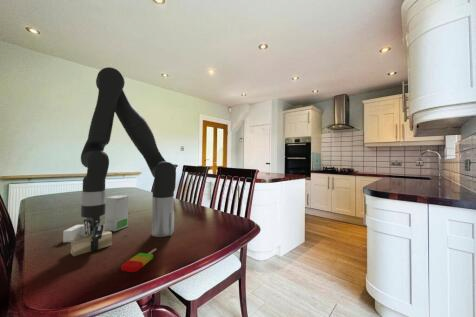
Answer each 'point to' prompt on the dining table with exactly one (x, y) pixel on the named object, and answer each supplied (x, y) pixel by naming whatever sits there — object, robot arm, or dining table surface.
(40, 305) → the dining table surface
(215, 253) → the dining table surface
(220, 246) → the dining table surface
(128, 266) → the popsicle
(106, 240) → the beige wooden block
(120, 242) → the dining table surface
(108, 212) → the skincare box
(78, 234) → the end cap
